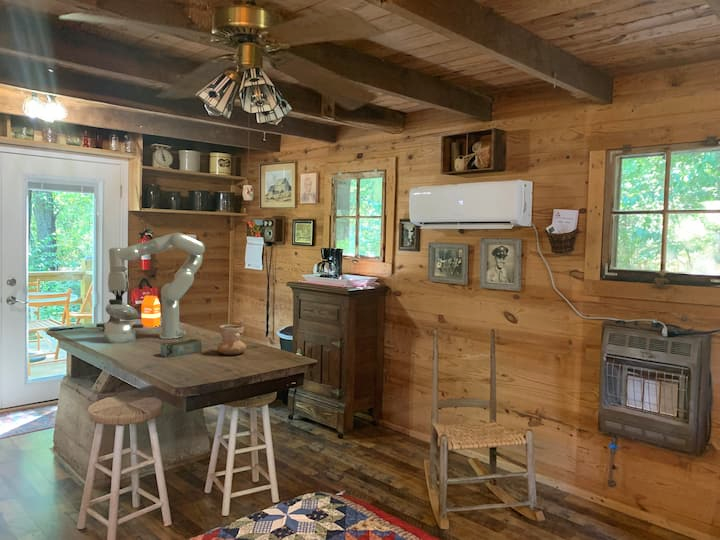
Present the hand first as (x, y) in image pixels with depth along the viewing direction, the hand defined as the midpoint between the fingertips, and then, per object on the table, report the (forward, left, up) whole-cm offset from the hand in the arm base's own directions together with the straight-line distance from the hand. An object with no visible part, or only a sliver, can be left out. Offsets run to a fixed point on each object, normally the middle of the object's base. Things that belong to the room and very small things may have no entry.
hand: (119, 302), depth 309 cm
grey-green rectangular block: (-45, +28, -22) cm, 57 cm away
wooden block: (+20, -32, -22) cm, 44 cm away
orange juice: (+2, -49, -22) cm, 54 cm away
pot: (0, -1, -22) cm, 22 cm away
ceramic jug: (-70, +25, -22) cm, 77 cm away
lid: (0, -2, -5) cm, 6 cm away
